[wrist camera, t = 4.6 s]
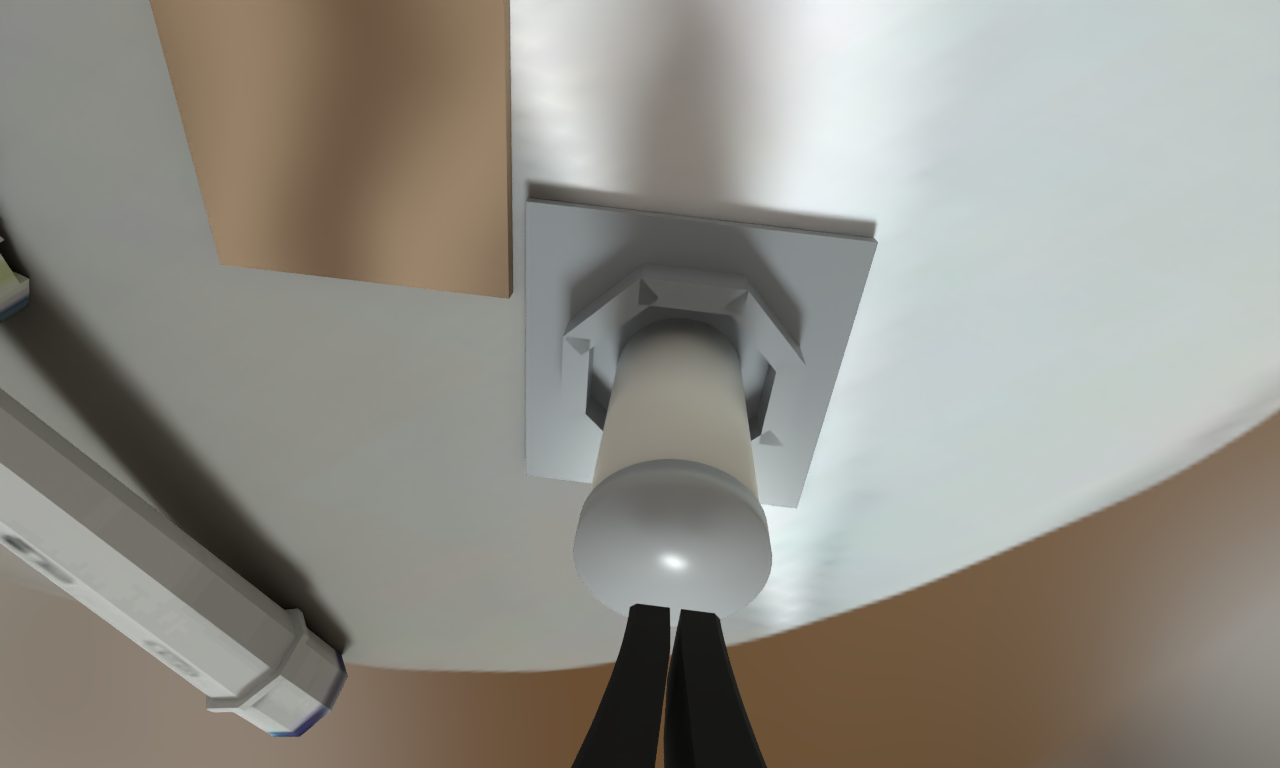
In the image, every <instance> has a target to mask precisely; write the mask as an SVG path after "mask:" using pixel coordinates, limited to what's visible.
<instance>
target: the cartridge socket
mask: <svg viewBox="0 0 1280 768" xmlns="http://www.w3.org/2000/svg"><path fill="white" fill-rule="evenodd" d="M877 244H878V242H877V241H876V240H875V238H868V237H860V236H851V235H843V234H834V233H825V232H817V231H808V230H800V229H791V228H783V227H774V226H765V225H757V224H748V223H740V222H731V221H723V220H714V219H705V218H697V217H688V216H680V215H671V214H663V213H654V212H645V211H637V210H628V209H620V208H611V207H603V206H594V205H586V204H577V203H568V202H560V201H551V200H543V199H534V198H528V199H527V201H526V475H529V476H537V477H545V478H553V479H562V480H570V481H578V482H586V483H592V480H593V475H594V470H595V466H596V461H597V457H598V452H599V447H600V443H601V438H602V433H603V429H604V424H605V420H606V415H607V410H608V406H609V401H610V397H611V392H612V387H613V383H614V378H615V373H616V369H617V364H618V360H619V357H620V354H621V351H622V349H623V347H624V346H625V344H626V343H627V341H628V340H629V339H630V338H631V337H632V336H633V335H634V334H635V333H636V332H638V331H639V330H640V329H642V328H643V327H645V326H647V325H649V324H651V323H653V322H656V321H660V320H664V319H669V318H688V319H693V320H697V321H700V322H704V323H706V324H708V325H710V326H712V327H714V328H715V329H717V330H718V331H720V332H721V333H722V334H723V335H724V336H725V337H726V338H727V339H728V340H729V341H730V342H731V344H732V345H733V347H734V349H735V351H736V353H737V355H738V358H739V361H740V367H741V374H742V381H743V388H744V395H745V402H746V410H747V417H748V424H749V431H750V438H751V445H752V452H753V459H754V466H755V473H756V480H757V488H758V495H759V502H760V504H765V505H773V506H782V507H790V508H797V506H798V503H799V500H800V496H801V493H802V490H803V487H804V483H805V480H806V477H807V474H808V470H809V467H810V464H811V460H812V457H813V454H814V451H815V447H816V444H817V441H818V437H819V434H820V431H821V428H822V424H823V421H824V418H825V415H826V411H827V408H828V405H829V401H830V398H831V395H832V392H833V388H834V385H835V382H836V378H837V375H838V372H839V369H840V365H841V362H842V359H843V356H844V352H845V349H846V346H847V342H848V339H849V336H850V333H851V329H852V326H853V323H854V319H855V316H856V313H857V310H858V306H859V303H860V300H861V297H862V293H863V290H864V287H865V283H866V280H867V277H868V274H869V270H870V267H871V264H872V260H873V257H874V254H875V251H876V247H877Z"/></svg>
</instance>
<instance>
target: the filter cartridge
mask: <svg viewBox="0 0 1280 768" xmlns="http://www.w3.org/2000/svg"><path fill="white" fill-rule="evenodd" d="M573 557H574V563H575V567H576V570H577V572H578V575H579V577H580V579H581V580H582V582H583V584H584V585H585V586H586V588H587V589H588V590H589V591H590V593H591V594H592V595H593V596H594V597H596V598H597V599H598V600H599V601H600V602H602V603H603V604H604V605H605V606H607V607H609V608H610V609H612V610H614V611H615V612H617V613H619V614H621V615H624V616H626V617H628V616H629V609H630V607H631V606H633V605H635V604H645V605H653V606H661V607H669V608H670V626H671V627H677V626H678V621H679V616H680V611H681V609H685V610H693V611H701V612H709V613H715V614H716V615H717V616H718V617H719V618H720V619H723V618H725V617H728V616H730V615H732V614H734V613H736V612H738V611H739V610H741V609H742V608H744V607H745V606H747V605H748V604H749V603H750V602H751V601H753V600H754V599H755V598H756V597H757V595H758V594H759V593H760V592H761V591H762V589H763V587H764V586H765V584H766V582H767V580H768V577H769V575H770V571H771V566H772V552H771V545H770V539H769V532H768V526H767V520H766V516H765V513H764V511H763V508H762V507H761V505H760V502H759V495H758V488H757V480H756V473H755V466H754V459H753V452H752V445H751V438H750V431H749V424H748V417H747V410H746V402H745V395H744V388H743V381H742V374H741V367H740V361H739V358H738V355H737V353H736V351H735V349H734V347H733V345H732V344H731V342H730V341H729V340H728V339H727V338H726V337H725V336H724V335H723V334H722V333H721V332H720V331H718V330H717V329H715V328H714V327H712V326H710V325H708V324H706V323H704V322H700V321H697V320H693V319H688V318H669V319H664V320H660V321H656V322H653V323H651V324H649V325H647V326H645V327H643V328H642V329H640V330H639V331H638V332H636V333H635V334H634V335H633V336H632V337H631V338H630V339H629V340H628V341H627V343H626V344H625V346H624V347H623V349H622V351H621V354H620V357H619V360H618V364H617V369H616V373H615V378H614V383H613V387H612V392H611V397H610V401H609V406H608V410H607V415H606V420H605V424H604V429H603V433H602V438H601V443H600V447H599V452H598V457H597V461H596V466H595V470H594V475H593V480H592V484H591V489H590V494H589V496H588V497H587V499H586V501H585V503H584V505H583V508H582V511H581V514H580V518H579V523H578V527H577V531H576V536H575V540H574V547H573Z"/></svg>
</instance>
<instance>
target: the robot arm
mask: <svg viewBox="0 0 1280 768" xmlns="http://www.w3.org/2000/svg"><path fill="white" fill-rule="evenodd" d="M669 654H670V608H669V607H661V606H653V605H645V604H635V605H633V606H631V607H630V609H629V616H628V622H627V626H626V630H625V634H624V638H623V642H622V645H621V649H620V652H619V655H618V658H617V661H616V664H615V667H614V670H613V672H612V675H611V678H610V681H609V683H608V686H607V688H606V691H605V693H604V695H603V698H602V700H601V703H600V705H599V708H598V710H597V713H596V715H595V718H594V720H593V722H592V725H591V727H590V729H589V731H588V733H587V735H586V738H585V740H584V742H583V744H582V746H581V748H580V750H579V753H578V754H577V757H576V759H575V761H574V763H573V765H572V767H571V768H655V760H656V753H657V746H658V737H659V730H660V723H661V715H662V706H663V699H664V692H665V684H666V677H667V669H668V661H669ZM664 768H767V766H766V764H765V761H764V759H763V756H762V754H761V751H760V749H759V746H758V743H757V741H756V738H755V735H754V732H753V730H752V727H751V724H750V722H749V719H748V716H747V713H746V711H745V708H744V705H743V702H742V699H741V696H740V693H739V690H738V687H737V684H736V680H735V677H734V674H733V671H732V667H731V664H730V660H729V657H728V653H727V649H726V645H725V641H724V637H723V633H722V628H721V623H720V618H719V617H718V616H717V615H716V614H715V613H709V612H701V611H693V610H685V609H681V611H680V616H679V621H678V626H677V631H676V636H675V642H674V647H673V652H672V657H671V663H670V668H669V672H668V678H667V692H666V708H665V725H664Z"/></svg>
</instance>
